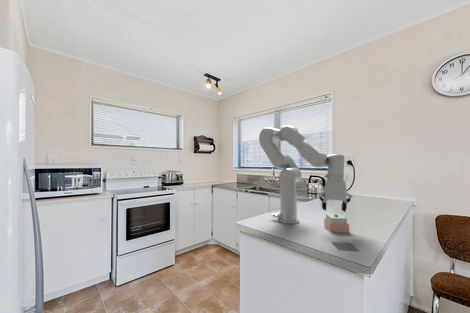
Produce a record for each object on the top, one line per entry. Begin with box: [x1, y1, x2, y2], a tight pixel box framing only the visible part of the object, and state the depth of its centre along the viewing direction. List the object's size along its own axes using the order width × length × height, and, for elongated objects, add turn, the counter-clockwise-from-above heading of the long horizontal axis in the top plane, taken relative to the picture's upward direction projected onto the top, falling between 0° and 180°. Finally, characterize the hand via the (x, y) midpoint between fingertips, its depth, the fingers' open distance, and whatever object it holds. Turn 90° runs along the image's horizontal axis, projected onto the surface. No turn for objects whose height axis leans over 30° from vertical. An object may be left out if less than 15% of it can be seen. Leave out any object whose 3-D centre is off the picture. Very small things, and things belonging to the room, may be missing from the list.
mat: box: [330, 241, 360, 252], centre depth 83 cm, size 8×8×1 cm
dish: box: [323, 217, 350, 234], centre depth 104 cm, size 9×9×4 cm
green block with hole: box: [325, 213, 348, 224], centre depth 104 cm, size 8×8×3 cm
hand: (333, 210), depth 105 cm, fingers open, 9 cm apart
